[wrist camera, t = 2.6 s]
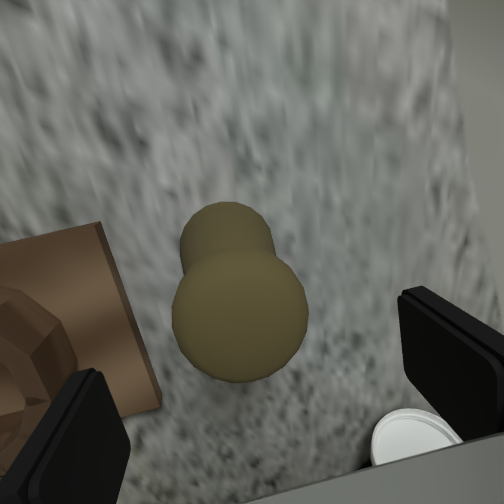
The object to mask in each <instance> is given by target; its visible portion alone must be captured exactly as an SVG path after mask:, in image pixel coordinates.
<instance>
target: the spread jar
mask: <svg viewBox="0 0 504 504" xmlns="http://www.w3.org/2000/svg"><path fill="white" fill-rule="evenodd" d="M462 442H463V441H462V440H461V439H460V437H459V436H458V435H457V434H456V433H455V432H454V431H453V429H452V428H451V427H450V426H449V425H448V424H447V423H446V422H445V421H444V420H443V419H441V418H439V417H438V416H436V415H433V414H431V413H429V412H426V411H422V410H419V409H410V408H409V409H399V410H395V411H392V412H390V413H388V414H386V415H385V416H384V417H383V418H382V419H381V420H380V421H379V422H378V424H377V425H376V427H375V429H374V432H373V435H372V442H371V450H370V451H371V460H369V461H368V462H367V463H365V464H364V465H363V466H362V467H361V468H360V469H364V468H368V467H371V466H375V465H379V464H383V463H386V462H390V461H394V460H398V459H401V458H405V457H409V456H413V455H416V454H420V453H424V452H428V451H431V450H435V449H439V448H443V447H446V446H450V445H454V444H458V443H462ZM360 469H359V470H360Z"/></svg>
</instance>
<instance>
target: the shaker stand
mask: <svg viewBox="0 0 504 504" xmlns="http://www.w3.org/2000/svg"><path fill="white" fill-rule="evenodd" d="M88 368H94V369H95V370H96V371H101V372H102V373H103V375H104V377H105V380H106V382H107V385H108V387H109V390H110V392H111V395H112V397H113V400H114V402H115V405H116V407H117V410H118V412H119V415H120V417H125V416H129V415H133V414H136V413H140V412H144V411H148V410H152V409H155V408H159V407H160V405H161V399H162V393H161V390H160V387H159V385H158V382H157V379H156V376H155V373H154V371H153V368H152V365H151V362H150V359H149V357H148V354H147V351H146V348H145V345H144V343H143V340H142V337H141V334H140V331H139V329H138V326H137V323H136V320H135V317H134V315H133V312H132V309H131V306H130V303H129V300H128V298H127V295H126V292H125V289H124V286H123V284H122V281H121V278H120V275H119V272H118V270H117V267H116V264H115V261H114V258H113V256H112V253H111V250H110V247H109V244H108V242H107V239H106V236H105V233H104V230H103V228H102V225H101V222H100V221H99V222H95V223H91V224H86V225H82V226H78V227H73V228H69V229H65V230H60V231H56V232H52V233H47V234H43V235H39V236H34V237H30V238H25V239H21V240H17V241H12V242H8V243H4V244H0V476H2V475H5V474H6V472H7V471H8V469H9V468H10V466H11V465H12V463H13V461H14V460H15V458H16V457H17V455H18V454H19V452H20V451H21V449H22V448H23V446H24V445H25V443H26V442H27V440H28V439H29V437H30V436H31V434H32V432H33V431H34V429H35V428H36V426H37V425H38V423H39V422H40V420H41V419H42V417H43V416H44V414H45V413H46V411H47V410H48V408H49V407H50V405H51V403H52V402H53V400H54V399H55V397H56V396H57V394H58V393H59V391H60V390H61V388H62V387H63V385H64V384H65V382H66V381H67V379H68V378H69V376H70V375H71V374H72V373H73V372H76V371H80V370H84V369H88Z"/></svg>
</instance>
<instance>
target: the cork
mask: <svg viewBox="0 0 504 504" xmlns="http://www.w3.org/2000/svg"><path fill="white" fill-rule="evenodd" d="M180 257H181V262H182V267H183V272H184V277H183V278H182V280H181V281H180V283H179V286H178V289H177V292H176V295H175V298H174V300H173V304H172V329H173V332H174V335H175V338H176V340H177V343H178V345H179V348H180V350H181V352H182V354H183V355H184V356H185V357H186V358H187V359H188V361H189V362H190V363H191V364H192V365H193V366H194V367H195V368H197V369H199V370H200V371H202V372H204V373H205V374H207V375H209V376H211V377H212V378H214V379H218V380H222V381H226V382H230V383H244V382H253V381H256V380H259V379H263V378H266V377H269V376H270V375H272V374H273V373H275V372H277V371H278V370H280V369H281V368H283V367H284V366H285V365H286V364H287V363H288V362H289V360H290V359H291V358H292V357H293V356H294V355H295V354H296V352H297V351H298V350H299V348H300V345H301V343H302V341H303V339H304V337H305V334H306V332H307V325H308V315H309V311H308V304H307V300H306V296H305V291H304V287H303V286H302V284H301V283H300V281H299V280H298V278H297V277H296V275H295V274H294V272H293V271H292V269H291V268H290V267H289V266H288V265H287V264H286V263H284V262H283V261H282V260H280V259H279V258H278V257H276V253H275V248H274V243H273V239H272V235H271V231H270V228H269V227H268V225H267V223H266V222H265V220H264V219H263V217H262V216H261V215H259V214H258V213H257V212H256V211H254V210H253V209H252V208H251V207H248V206H245V205H243V204H240V203H237V202H218V203H215V204H211V205H208V206H206V207H204V208H203V209H201V210H200V211H198V212H197V213H195V214H194V215H193V216H192V217H191V219H190V220H189V221H188V223H187V224H186V225H185V227H184V230H183V233H182V236H181V239H180Z"/></svg>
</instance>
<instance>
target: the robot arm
mask: <svg viewBox="0 0 504 504" xmlns="http://www.w3.org/2000/svg"><path fill="white" fill-rule="evenodd" d="M397 303H398V313H399V323H400V333H401V343H402V354H403V364H404V371H405V374H406V376H407V378H408V379H409V381H410V382H411V383H412V384H413V385H414V386H415V387H416V389H417V390H418V391H419V392H420V393H421V394H422V395H423V397H424V398H425V399H426V400H427V401H428V402H429V403H430V405H431V406H432V407H433V408H434V409H435V410H436V411H437V412H438V414H439V415H440V416H441V417H442V418H443V419H444V420H445V422H446V423H447V424H448V425H449V426H450V427H451V428H452V429H453V431H454V432H455V433H456V434H457V435H458V436H459V437H460V439H461V440H462V441H463V442H462V443H458V444H454V445H450V446H446V447H443V448H439V449H435V450H431V451H428V452H424V453H420V454H416V455H413V456H409V457H405V458H401V459H398V460H394V461H390V462H386V463H383V464H379V465H375V466H371V467H368V468H364V469H360V470H356V471H353V472H349V473H345V474H342V475H338V476H334V477H331V478H327V479H323V480H320V481H316V482H312V483H309V484H305V485H301V486H298V487H294V488H290V489H287V490H283V491H279V492H276V493H272V494H268V495H265V496H261V497H257V498H254V499H250V500H247V501H243V502H239V503H236V504H504V335H502V334H501V333H499V332H497V331H496V330H494V329H492V328H491V327H489V326H488V325H486V324H484V323H483V322H481V321H479V320H478V319H476V318H474V317H473V316H471V315H470V314H468V313H466V312H465V311H463V310H461V309H460V308H458V307H456V306H455V305H453V304H452V303H450V302H448V301H447V300H445V299H443V298H442V297H440V296H438V295H437V294H435V293H434V292H432V291H430V290H429V289H427V288H425V287H424V286H418V287H414V288H410V289H406V290H403V291H402V294H401V296H398V299H397ZM130 450H131V446H130V440H129V437H128V435H127V432H126V430H125V427H124V425H123V422H122V420H121V417H120V415H119V412H118V410H117V407H116V405H115V402H114V400H113V397H112V395H111V392H110V390H109V387H108V385H107V382H106V380H105V377H104V375H103V373H102V372H101V371H96V370H95V369H94V368H88V369H84V370H80V371H76V372H73V373H72V374H71V375H70V376H69V378H68V379H67V381H66V382H65V384H64V385H63V387H62V388H61V390H60V391H59V393H58V394H57V396H56V397H55V399H54V400H53V402H52V403H51V405H50V407H49V408H48V410H47V411H46V413H45V414H44V416H43V417H42V419H41V420H40V422H39V423H38V425H37V426H36V428H35V429H34V431H33V432H32V434H31V436H30V437H29V439H28V440H27V442H26V443H25V445H24V446H23V448H22V449H21V451H20V452H19V454H18V455H17V457H16V458H15V460H14V461H13V463H12V465H11V466H10V468H9V469H8V471H7V472H6V474H5V475H4V477H3V478H2V480H1V481H0V504H116V502H117V499H118V495H119V491H120V488H121V484H122V481H123V477H124V474H125V470H126V466H127V463H128V459H129V456H130Z"/></svg>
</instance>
